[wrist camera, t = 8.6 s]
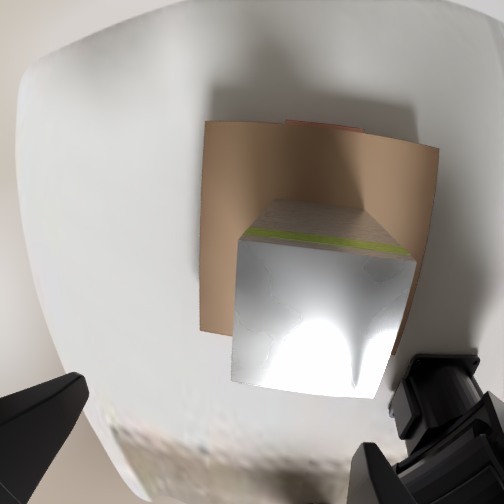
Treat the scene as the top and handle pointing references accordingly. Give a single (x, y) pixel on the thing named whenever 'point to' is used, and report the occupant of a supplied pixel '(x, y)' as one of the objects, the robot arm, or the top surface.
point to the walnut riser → (304, 193)
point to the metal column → (317, 299)
